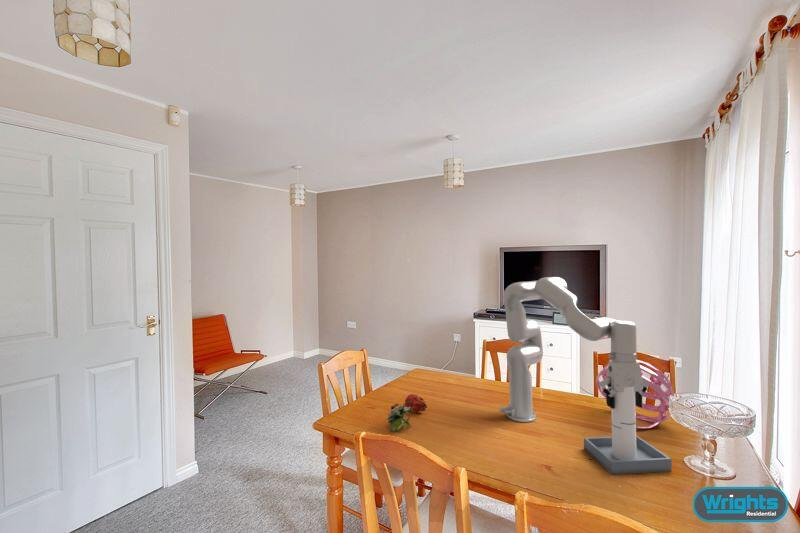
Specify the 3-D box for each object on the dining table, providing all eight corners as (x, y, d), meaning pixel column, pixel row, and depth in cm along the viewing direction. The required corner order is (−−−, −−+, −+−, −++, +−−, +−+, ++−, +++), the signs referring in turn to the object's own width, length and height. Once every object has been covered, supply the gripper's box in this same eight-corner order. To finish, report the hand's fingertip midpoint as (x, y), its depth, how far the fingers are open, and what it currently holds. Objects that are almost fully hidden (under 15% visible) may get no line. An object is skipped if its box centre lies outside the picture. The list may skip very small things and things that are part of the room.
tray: (612, 474, 116) (611, 462, 116) (584, 448, 132) (583, 437, 132) (671, 471, 117) (671, 458, 117) (636, 446, 133) (636, 435, 133)
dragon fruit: (405, 411, 173) (425, 421, 165) (397, 405, 167) (418, 415, 159) (412, 394, 176) (433, 403, 168) (405, 388, 170) (426, 397, 163)
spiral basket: (632, 393, 132) (659, 343, 144) (571, 388, 157) (598, 346, 169) (676, 450, 134) (699, 396, 146) (609, 437, 159) (633, 391, 171)
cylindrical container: (636, 463, 120) (635, 388, 119) (612, 458, 123) (610, 385, 123) (636, 453, 126) (634, 382, 125) (612, 448, 129) (611, 379, 129)
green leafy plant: (395, 436, 155) (400, 407, 162) (415, 438, 149) (420, 408, 156) (379, 429, 149) (385, 400, 155) (400, 431, 142) (405, 400, 149)
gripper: (606, 360, 120) (606, 412, 120) (656, 359, 121) (656, 409, 121) (592, 355, 127) (593, 403, 127) (640, 353, 128) (640, 401, 128)
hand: (624, 406), depth 124 cm, fingers open, 9 cm apart
